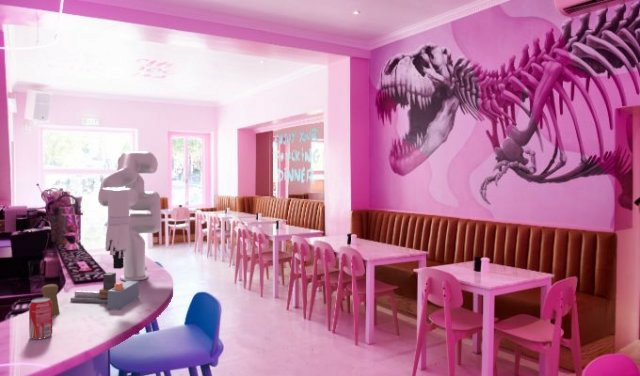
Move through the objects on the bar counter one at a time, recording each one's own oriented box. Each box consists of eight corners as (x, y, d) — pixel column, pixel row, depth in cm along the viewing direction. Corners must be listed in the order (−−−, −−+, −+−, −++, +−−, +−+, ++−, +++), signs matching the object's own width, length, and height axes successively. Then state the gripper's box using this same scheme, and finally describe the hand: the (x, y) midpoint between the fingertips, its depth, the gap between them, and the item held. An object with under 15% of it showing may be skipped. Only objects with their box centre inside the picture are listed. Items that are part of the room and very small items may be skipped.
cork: (50, 318, 158) (50, 287, 157) (36, 316, 159) (36, 286, 158) (63, 312, 164) (63, 283, 163) (49, 311, 165) (49, 282, 164)
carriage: (105, 294, 181) (105, 272, 180) (119, 295, 180) (119, 272, 180) (99, 298, 176) (99, 274, 176) (114, 298, 176) (113, 275, 176)
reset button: (116, 297, 174) (117, 282, 173) (124, 297, 173) (124, 282, 173) (112, 299, 171) (112, 284, 170) (120, 300, 170) (120, 284, 170)
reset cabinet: (127, 297, 184) (127, 280, 183) (138, 298, 183) (138, 281, 183) (107, 309, 169) (107, 290, 168) (120, 309, 168) (120, 291, 168)
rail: (79, 297, 182) (79, 289, 182) (124, 299, 181) (124, 290, 181) (70, 301, 176) (70, 293, 176) (116, 303, 175) (116, 295, 175)
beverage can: (36, 333, 144) (35, 296, 143) (56, 333, 144) (56, 296, 144) (25, 340, 137) (24, 302, 137) (46, 340, 138) (45, 302, 137)
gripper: (119, 218, 178) (119, 264, 179) (98, 222, 163) (98, 272, 164) (137, 219, 178) (137, 264, 178) (118, 223, 163) (117, 272, 163)
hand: (118, 268), depth 171 cm, fingers closed
